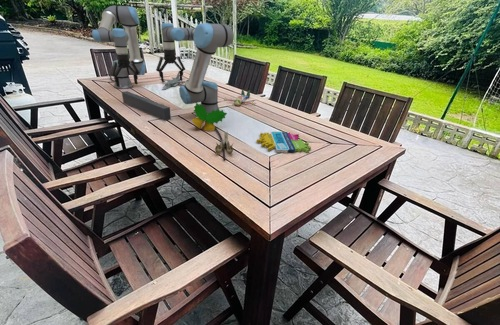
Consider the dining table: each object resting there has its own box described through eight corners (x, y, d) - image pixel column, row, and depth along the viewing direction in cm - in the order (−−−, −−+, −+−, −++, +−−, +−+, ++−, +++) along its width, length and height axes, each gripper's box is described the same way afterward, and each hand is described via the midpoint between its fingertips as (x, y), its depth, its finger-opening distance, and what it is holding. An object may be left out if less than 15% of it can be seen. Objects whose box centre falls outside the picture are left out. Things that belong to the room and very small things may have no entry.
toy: (261, 91, 228) (254, 99, 202) (261, 99, 231) (253, 108, 205) (231, 87, 233) (220, 95, 207) (230, 95, 236) (219, 104, 210)
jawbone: (234, 135, 144) (233, 125, 135) (233, 160, 138) (232, 151, 129) (217, 135, 144) (216, 125, 135) (216, 160, 138) (214, 150, 129)
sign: (313, 150, 142) (258, 149, 139) (312, 153, 143) (258, 152, 140) (301, 132, 164) (254, 130, 161) (301, 134, 165) (254, 133, 162)
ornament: (218, 133, 171) (224, 110, 169) (221, 134, 163) (227, 111, 161) (186, 125, 162) (192, 101, 160) (189, 126, 155) (195, 101, 153)
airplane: (153, 81, 261) (151, 71, 256) (184, 80, 275) (183, 70, 270) (160, 92, 233) (159, 80, 228) (195, 89, 246) (194, 78, 241)
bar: (170, 119, 174) (169, 107, 170) (165, 120, 171) (163, 108, 167) (129, 101, 201) (127, 91, 197) (123, 103, 198) (121, 92, 194)
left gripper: (136, 52, 190) (140, 81, 200) (101, 54, 172) (107, 86, 183) (141, 53, 186) (145, 83, 196) (106, 55, 169) (113, 88, 179)
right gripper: (184, 48, 186) (186, 78, 196) (148, 48, 173) (152, 81, 183) (188, 49, 181) (190, 80, 191) (152, 49, 168) (156, 83, 178)
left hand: (127, 85), depth 190 cm, fingers open, 13 cm apart
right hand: (172, 81), depth 187 cm, fingers open, 13 cm apart
